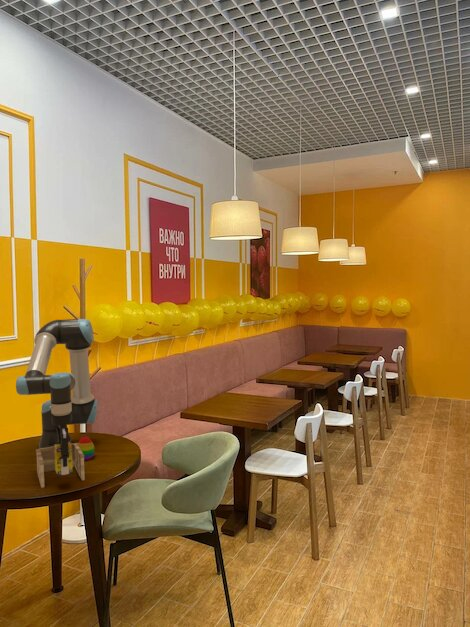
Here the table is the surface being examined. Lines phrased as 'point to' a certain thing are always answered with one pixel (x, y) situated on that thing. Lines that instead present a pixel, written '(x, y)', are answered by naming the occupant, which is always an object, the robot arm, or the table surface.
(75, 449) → the brown wooden frame
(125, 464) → the table surface
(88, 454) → the decorative egg
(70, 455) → the supplement box
